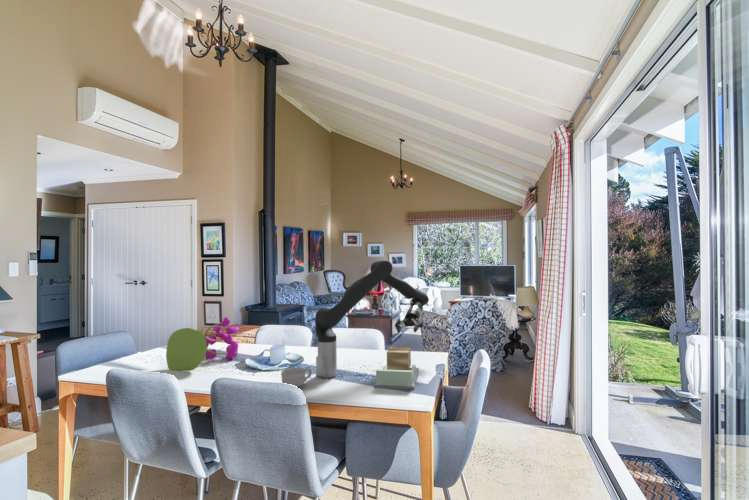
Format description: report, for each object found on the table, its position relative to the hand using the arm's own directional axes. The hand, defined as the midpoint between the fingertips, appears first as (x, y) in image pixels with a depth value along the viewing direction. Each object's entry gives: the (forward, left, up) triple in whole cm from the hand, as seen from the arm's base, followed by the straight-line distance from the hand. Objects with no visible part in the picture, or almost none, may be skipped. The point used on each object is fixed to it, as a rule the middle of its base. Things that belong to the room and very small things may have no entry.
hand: (406, 331), depth 217 cm
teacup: (-54, +17, -21) cm, 60 cm away
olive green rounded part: (-70, +89, -21) cm, 115 cm away
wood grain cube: (-7, -1, -19) cm, 20 cm away
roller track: (-11, -5, -21) cm, 24 cm away
